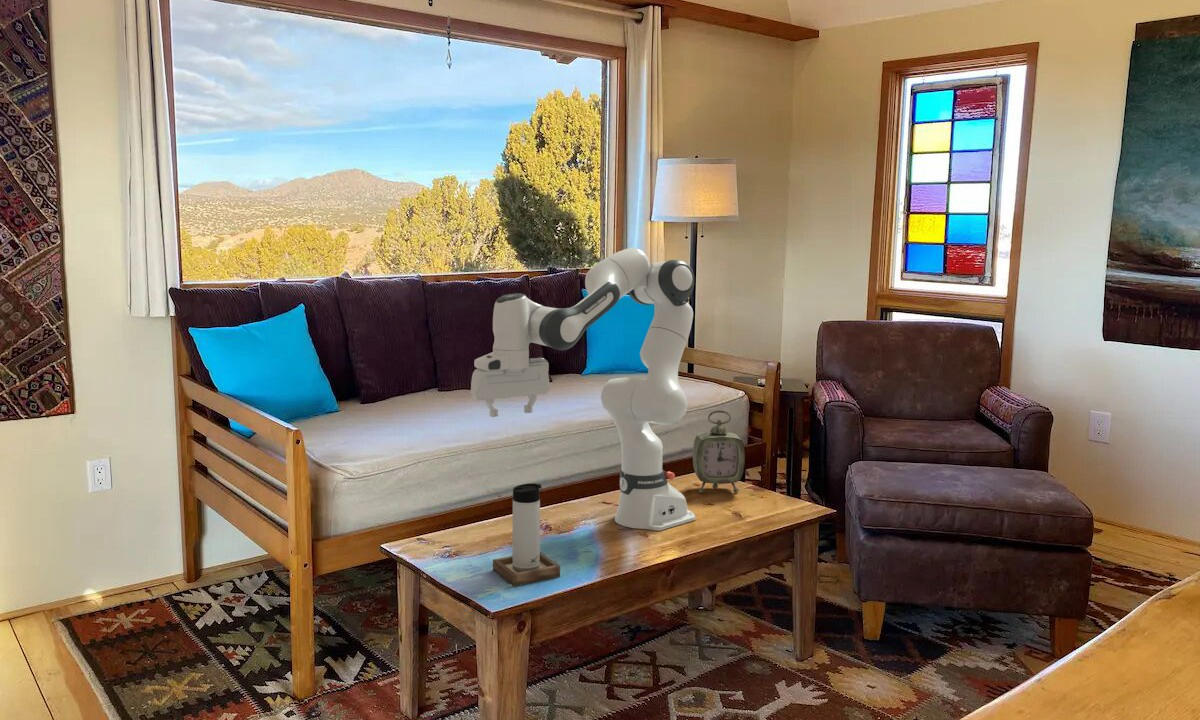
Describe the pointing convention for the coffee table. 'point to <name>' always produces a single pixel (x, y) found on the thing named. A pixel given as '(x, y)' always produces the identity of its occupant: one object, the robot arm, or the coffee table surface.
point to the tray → (513, 577)
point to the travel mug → (526, 527)
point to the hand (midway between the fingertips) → (511, 414)
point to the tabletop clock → (718, 455)
